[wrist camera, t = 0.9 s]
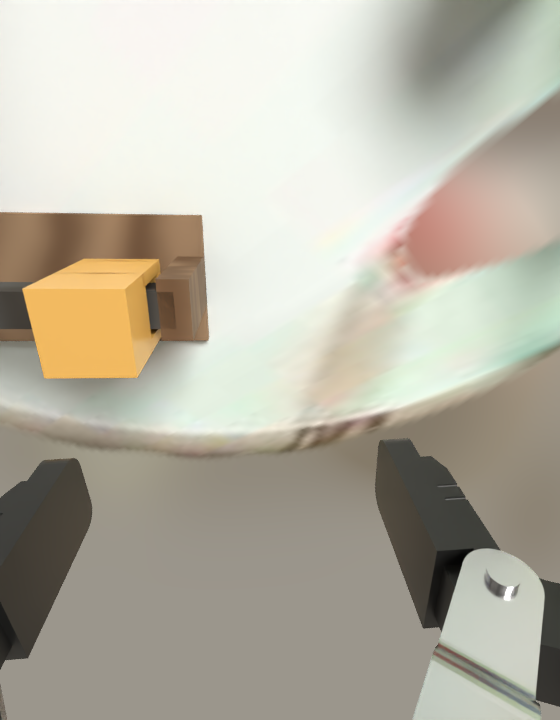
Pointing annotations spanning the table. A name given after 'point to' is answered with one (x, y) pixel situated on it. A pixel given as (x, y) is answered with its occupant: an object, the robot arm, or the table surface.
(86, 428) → the table surface
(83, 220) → the wooden slider rail stand
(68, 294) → the yellow slider block
